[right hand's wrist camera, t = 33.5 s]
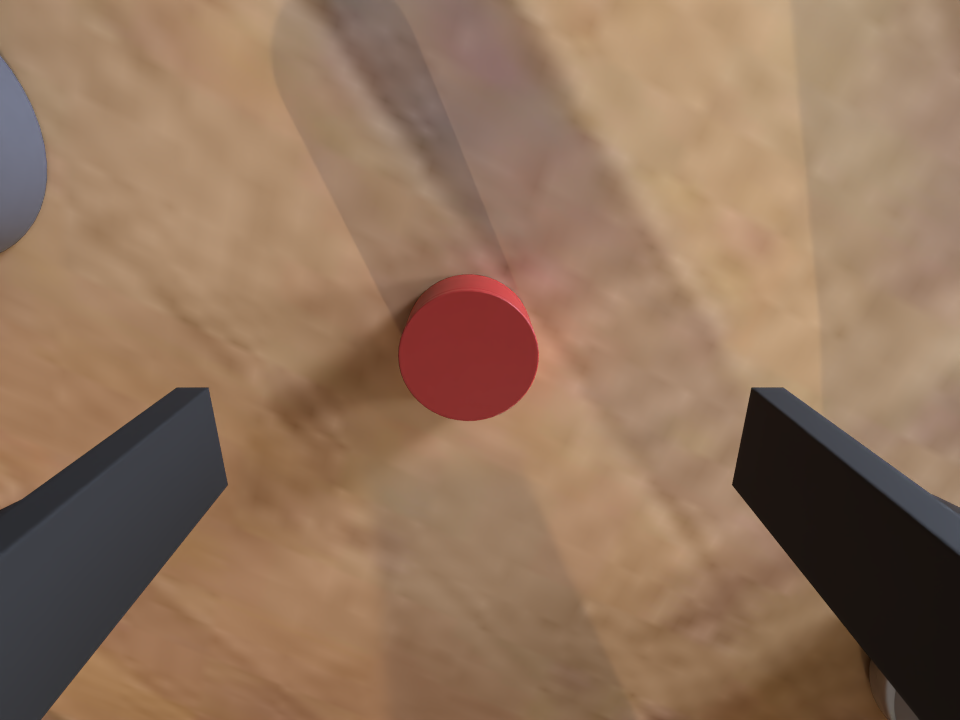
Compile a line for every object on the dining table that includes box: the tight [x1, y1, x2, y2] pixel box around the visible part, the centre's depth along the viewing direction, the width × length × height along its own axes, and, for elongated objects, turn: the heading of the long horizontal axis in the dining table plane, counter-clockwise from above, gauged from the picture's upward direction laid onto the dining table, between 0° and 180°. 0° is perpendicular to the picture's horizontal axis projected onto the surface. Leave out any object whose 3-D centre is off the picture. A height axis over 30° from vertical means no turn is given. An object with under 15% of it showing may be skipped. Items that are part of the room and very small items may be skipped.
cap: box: [398, 275, 539, 421], centre depth 17 cm, size 4×4×2 cm
